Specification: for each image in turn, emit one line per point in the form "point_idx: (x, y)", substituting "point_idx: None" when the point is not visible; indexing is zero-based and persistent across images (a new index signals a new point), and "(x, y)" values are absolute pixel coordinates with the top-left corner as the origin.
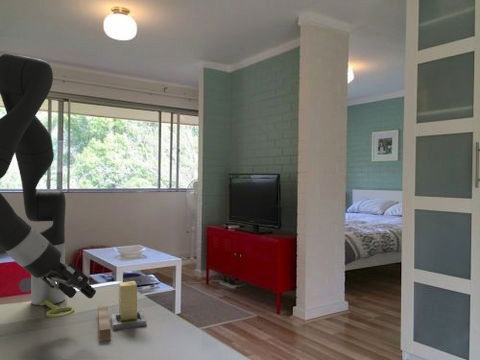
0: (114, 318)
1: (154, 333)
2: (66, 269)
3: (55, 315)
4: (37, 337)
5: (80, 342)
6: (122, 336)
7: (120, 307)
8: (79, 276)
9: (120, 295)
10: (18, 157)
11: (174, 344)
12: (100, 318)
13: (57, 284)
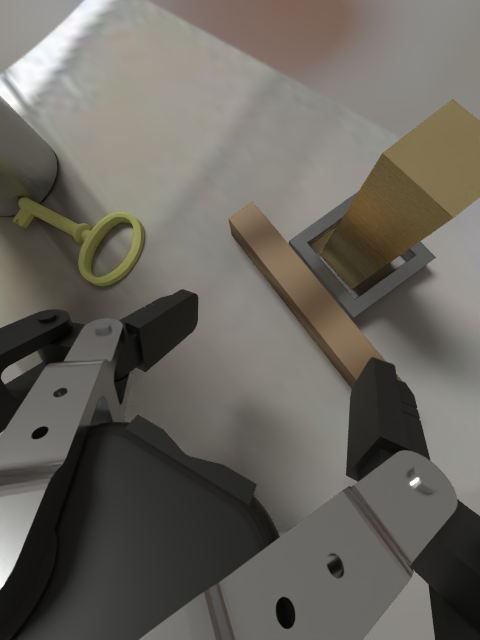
0: (322, 267)
1: None
2: None
3: (115, 276)
4: (170, 425)
5: (316, 427)
6: (408, 356)
7: (377, 264)
8: (417, 553)
9: (410, 241)
10: None
11: None
12: (311, 315)
13: (120, 419)
